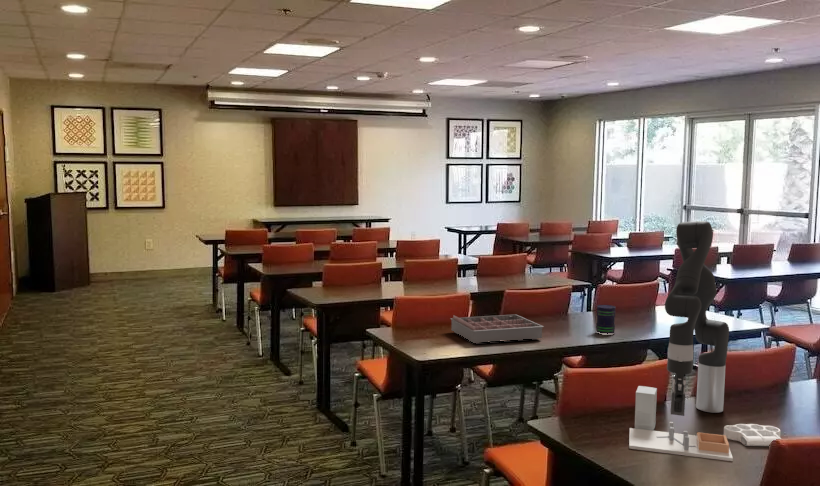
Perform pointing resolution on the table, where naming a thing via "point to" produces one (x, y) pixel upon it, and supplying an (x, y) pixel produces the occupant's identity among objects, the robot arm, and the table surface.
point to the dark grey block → (673, 404)
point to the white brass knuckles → (752, 434)
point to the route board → (672, 443)
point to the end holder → (709, 444)
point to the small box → (645, 408)
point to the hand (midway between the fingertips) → (677, 409)
